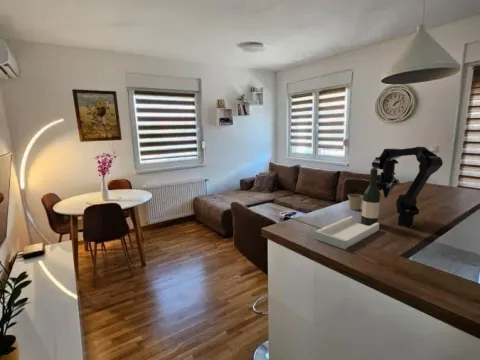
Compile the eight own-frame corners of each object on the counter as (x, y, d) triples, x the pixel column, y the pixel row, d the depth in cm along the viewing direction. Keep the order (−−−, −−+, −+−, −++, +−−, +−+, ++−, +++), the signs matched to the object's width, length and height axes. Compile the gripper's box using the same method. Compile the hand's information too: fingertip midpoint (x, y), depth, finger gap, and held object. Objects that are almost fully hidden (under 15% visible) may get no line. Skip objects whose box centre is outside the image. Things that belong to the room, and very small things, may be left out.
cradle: (378, 230, 134) (379, 223, 133) (344, 249, 113) (345, 241, 112) (349, 222, 145) (350, 216, 145) (314, 238, 124) (314, 231, 123)
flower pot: (348, 206, 176) (349, 193, 175) (363, 208, 172) (364, 195, 170) (345, 209, 169) (346, 196, 167) (361, 212, 164) (362, 198, 162)
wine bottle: (380, 226, 139) (385, 169, 133) (362, 225, 141) (367, 169, 135) (375, 221, 147) (380, 167, 142) (359, 220, 149) (363, 166, 143)
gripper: (380, 167, 163) (378, 192, 166) (366, 170, 151) (364, 197, 154) (400, 169, 155) (397, 196, 158) (387, 173, 143) (384, 201, 146)
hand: (385, 197), depth 154 cm, fingers closed
